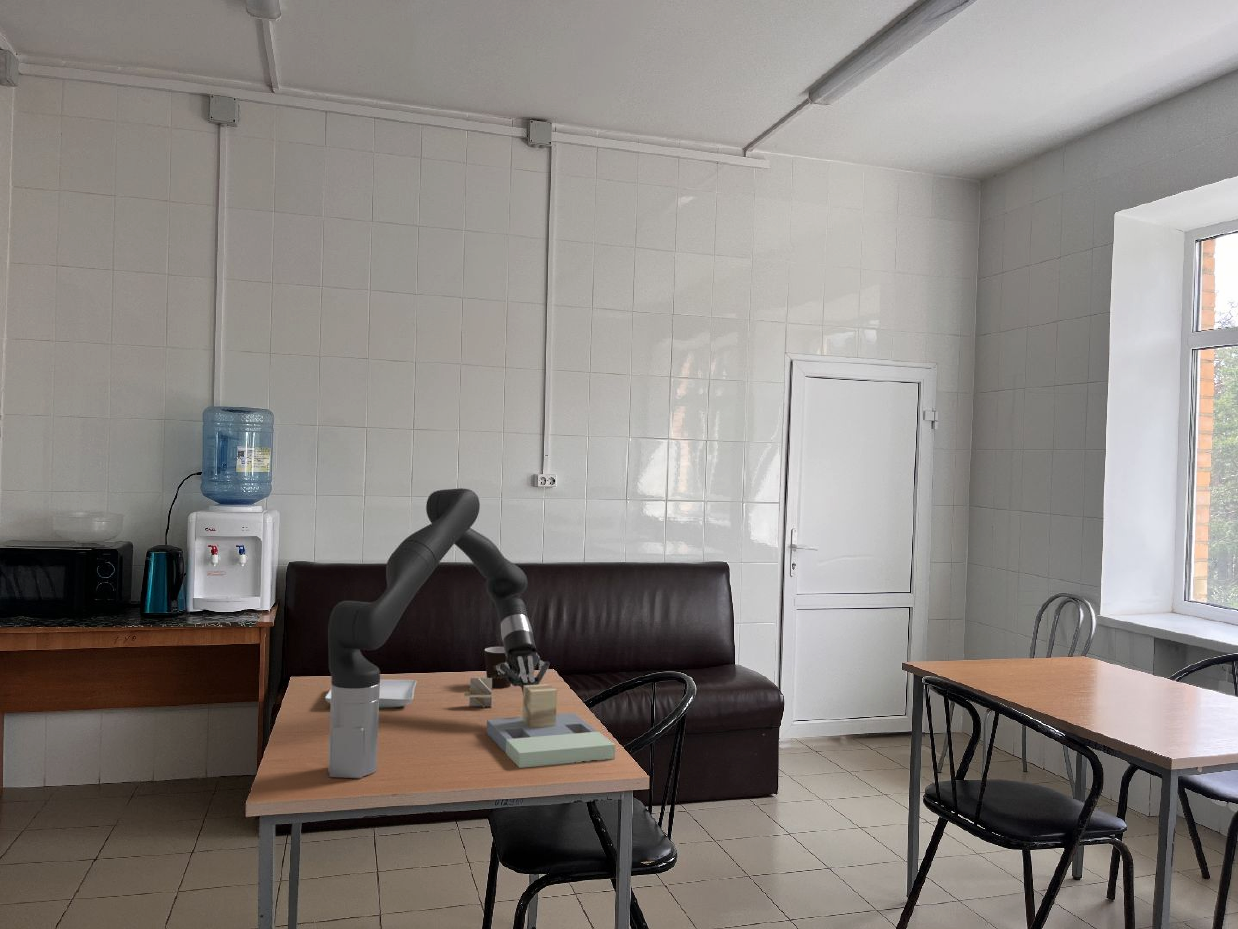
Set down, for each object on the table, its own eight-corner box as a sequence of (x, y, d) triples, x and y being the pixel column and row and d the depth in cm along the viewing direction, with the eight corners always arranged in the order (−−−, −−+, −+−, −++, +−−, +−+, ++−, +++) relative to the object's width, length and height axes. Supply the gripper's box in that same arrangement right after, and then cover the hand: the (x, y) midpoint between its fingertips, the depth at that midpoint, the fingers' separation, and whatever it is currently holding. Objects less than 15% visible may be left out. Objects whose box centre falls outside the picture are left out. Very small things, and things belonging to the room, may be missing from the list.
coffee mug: (479, 688, 253) (480, 651, 253) (488, 681, 261) (489, 646, 261) (520, 691, 251) (521, 654, 251) (528, 684, 259) (529, 648, 259)
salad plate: (416, 690, 249) (417, 678, 249) (412, 711, 228) (412, 697, 228) (335, 691, 245) (335, 678, 245) (323, 712, 224) (324, 698, 224)
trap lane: (615, 758, 195) (615, 744, 195) (519, 768, 186) (519, 753, 186) (573, 725, 219) (573, 713, 219) (486, 732, 210) (487, 719, 210)
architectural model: (491, 710, 231) (492, 681, 231) (463, 710, 230) (464, 680, 230) (492, 707, 234) (493, 678, 234) (464, 707, 234) (465, 677, 234)
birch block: (555, 725, 207) (557, 690, 207) (530, 727, 205) (531, 691, 205) (547, 718, 213) (548, 684, 213) (522, 720, 211) (523, 685, 211)
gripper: (494, 629, 221) (507, 692, 210) (547, 627, 226) (561, 689, 215) (488, 647, 226) (499, 710, 215) (539, 645, 231) (553, 706, 220)
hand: (530, 699), depth 215 cm, fingers closed
